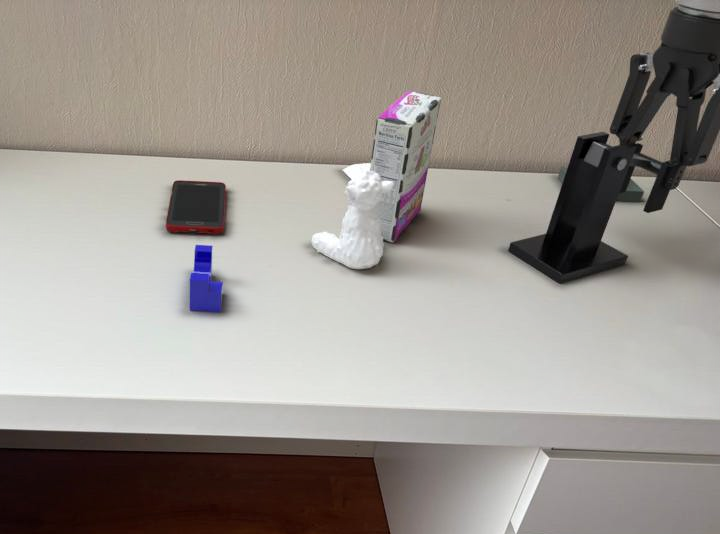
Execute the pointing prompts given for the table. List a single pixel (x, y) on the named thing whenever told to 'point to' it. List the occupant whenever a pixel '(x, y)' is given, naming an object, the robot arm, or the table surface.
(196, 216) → the cell phone
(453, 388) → the table surface
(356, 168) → the white flat piece
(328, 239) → the sitting furry creature
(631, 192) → the housing
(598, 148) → the lever
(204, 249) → the cable holder
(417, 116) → the candy bar box
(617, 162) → the bracket
